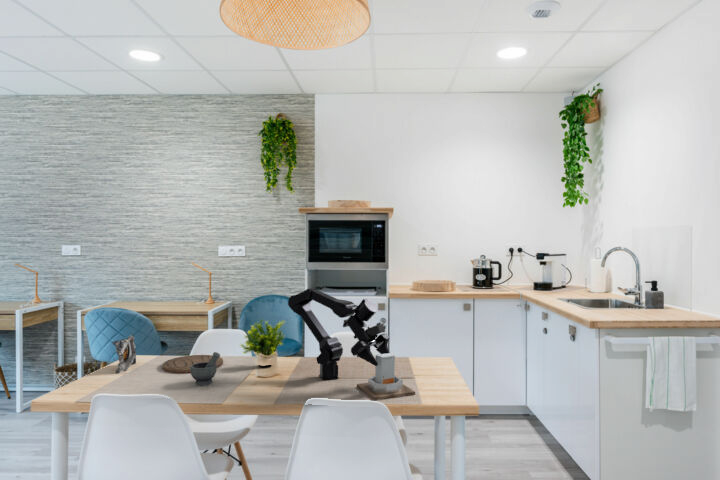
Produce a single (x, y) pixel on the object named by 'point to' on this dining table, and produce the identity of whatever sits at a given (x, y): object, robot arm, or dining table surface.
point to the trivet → (187, 363)
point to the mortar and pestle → (205, 371)
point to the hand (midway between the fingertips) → (383, 362)
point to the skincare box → (385, 368)
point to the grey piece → (125, 353)
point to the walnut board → (378, 396)
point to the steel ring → (385, 385)
